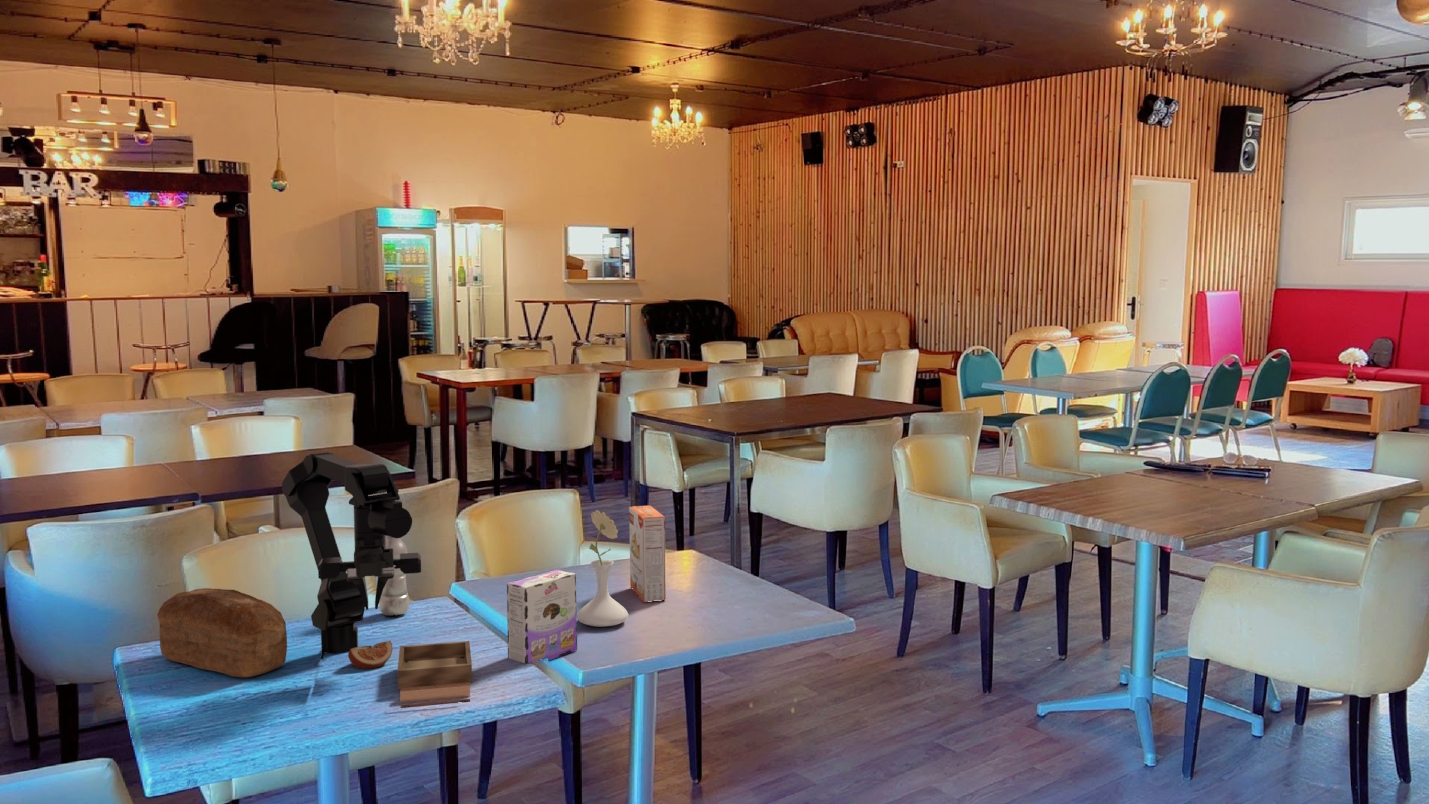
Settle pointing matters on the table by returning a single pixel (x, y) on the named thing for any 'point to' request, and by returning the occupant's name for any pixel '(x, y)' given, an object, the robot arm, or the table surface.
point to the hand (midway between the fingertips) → (371, 608)
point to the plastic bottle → (395, 584)
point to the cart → (434, 664)
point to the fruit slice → (370, 655)
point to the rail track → (434, 694)
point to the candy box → (542, 616)
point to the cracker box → (647, 553)
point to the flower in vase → (602, 583)
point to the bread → (223, 632)
